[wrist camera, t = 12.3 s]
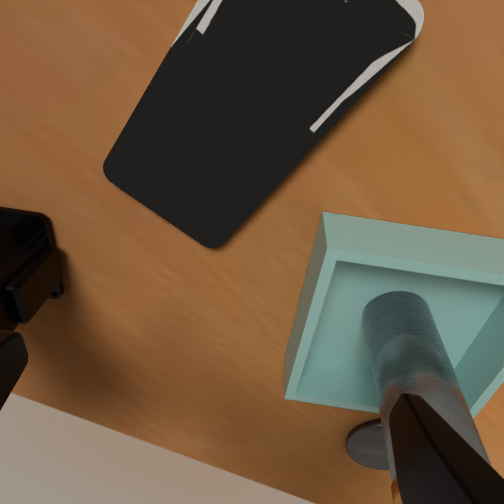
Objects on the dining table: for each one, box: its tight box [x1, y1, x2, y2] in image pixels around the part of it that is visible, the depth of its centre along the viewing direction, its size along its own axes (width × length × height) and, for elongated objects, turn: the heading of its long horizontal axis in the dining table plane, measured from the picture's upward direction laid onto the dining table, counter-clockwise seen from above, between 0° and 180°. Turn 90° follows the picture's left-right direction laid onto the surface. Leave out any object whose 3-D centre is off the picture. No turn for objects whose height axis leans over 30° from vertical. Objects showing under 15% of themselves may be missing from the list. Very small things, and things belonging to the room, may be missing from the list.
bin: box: [284, 212, 504, 419], centre depth 23 cm, size 12×12×4 cm
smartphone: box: [103, 0, 424, 248], centre depth 18 cm, size 8×1×15 cm
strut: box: [362, 291, 492, 504], centre depth 19 cm, size 4×4×12 cm
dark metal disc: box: [346, 419, 390, 470], centre depth 32 cm, size 7×7×1 cm
